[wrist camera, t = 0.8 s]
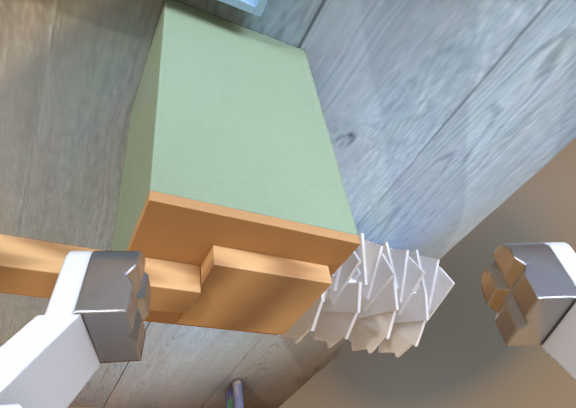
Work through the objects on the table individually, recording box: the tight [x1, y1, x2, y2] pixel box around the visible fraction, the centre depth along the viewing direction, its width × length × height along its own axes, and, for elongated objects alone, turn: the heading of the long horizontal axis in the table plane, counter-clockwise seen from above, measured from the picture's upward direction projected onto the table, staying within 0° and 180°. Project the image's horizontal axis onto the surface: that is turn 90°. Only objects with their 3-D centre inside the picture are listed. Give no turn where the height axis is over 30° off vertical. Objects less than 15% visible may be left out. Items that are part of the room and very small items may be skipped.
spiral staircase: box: [282, 233, 455, 357], centre depth 74 cm, size 18×18×25 cm
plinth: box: [112, 0, 361, 335], centre depth 44 cm, size 15×14×26 cm
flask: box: [225, 379, 244, 408], centre depth 114 cm, size 9×3×11 cm, turn 158°
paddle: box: [0, 234, 332, 335], centre depth 33 cm, size 23×8×2 cm, turn 64°
